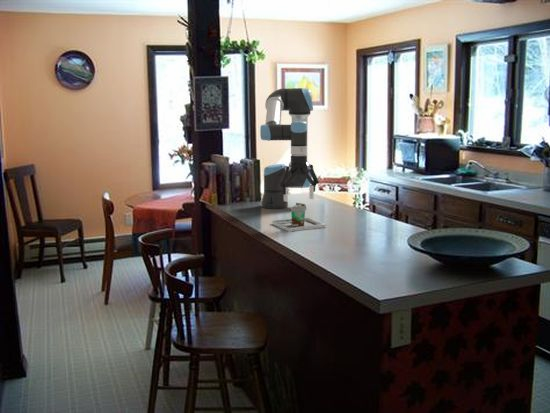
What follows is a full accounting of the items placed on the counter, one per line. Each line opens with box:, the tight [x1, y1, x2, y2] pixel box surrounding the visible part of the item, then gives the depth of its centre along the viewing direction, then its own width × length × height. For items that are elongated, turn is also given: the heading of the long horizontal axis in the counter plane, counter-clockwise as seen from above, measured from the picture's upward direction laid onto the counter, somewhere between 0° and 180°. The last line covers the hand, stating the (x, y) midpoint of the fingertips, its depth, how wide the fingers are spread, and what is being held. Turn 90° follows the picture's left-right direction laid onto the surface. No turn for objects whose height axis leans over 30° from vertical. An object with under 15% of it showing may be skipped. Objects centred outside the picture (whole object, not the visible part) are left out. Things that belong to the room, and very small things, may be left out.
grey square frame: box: [271, 216, 327, 232], centre depth 285 cm, size 18×20×2 cm
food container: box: [290, 202, 307, 227], centre depth 284 cm, size 12×6×10 cm, turn 167°
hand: (298, 200), depth 283 cm, fingers open, 13 cm apart
